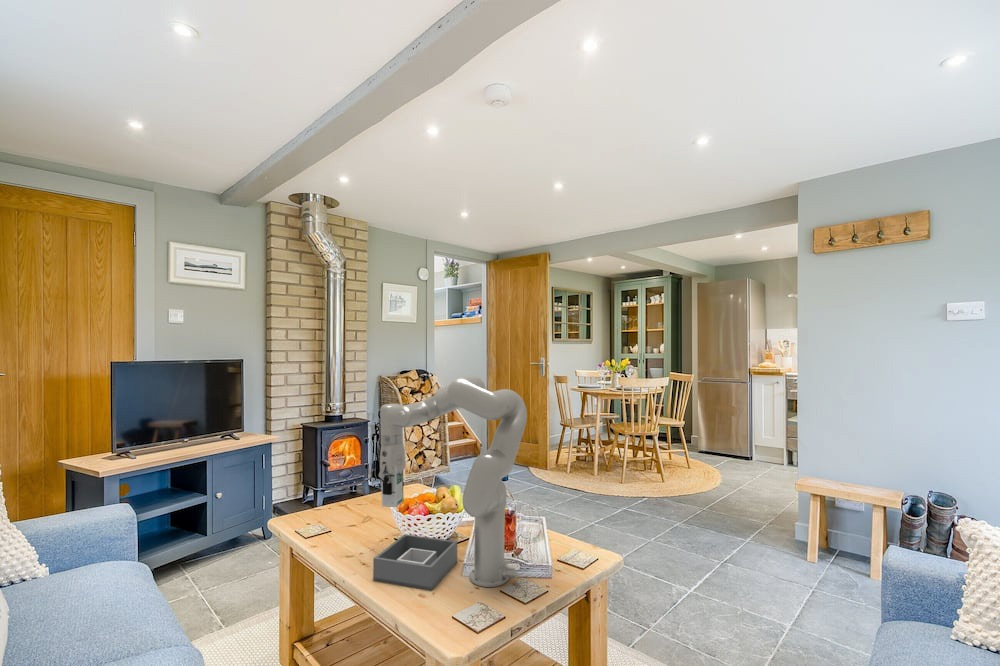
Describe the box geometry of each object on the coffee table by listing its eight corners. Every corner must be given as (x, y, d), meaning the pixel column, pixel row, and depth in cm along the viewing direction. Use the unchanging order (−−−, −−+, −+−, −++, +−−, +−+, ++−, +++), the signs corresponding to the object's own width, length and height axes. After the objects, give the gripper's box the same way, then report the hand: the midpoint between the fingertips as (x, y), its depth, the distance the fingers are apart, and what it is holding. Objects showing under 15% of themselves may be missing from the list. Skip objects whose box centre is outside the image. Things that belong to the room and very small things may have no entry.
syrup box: (397, 507, 167) (396, 464, 167) (381, 506, 168) (380, 464, 168) (403, 502, 172) (403, 460, 173) (388, 501, 173) (387, 460, 174)
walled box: (457, 562, 166) (457, 541, 166) (431, 590, 147) (431, 567, 147) (404, 554, 172) (404, 534, 172) (373, 580, 153) (373, 558, 153)
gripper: (388, 445, 161) (388, 500, 161) (413, 435, 178) (414, 485, 177) (368, 444, 164) (369, 498, 163) (395, 434, 180) (395, 484, 180)
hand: (392, 491), depth 170 cm, fingers closed on syrup box, 6 cm apart
